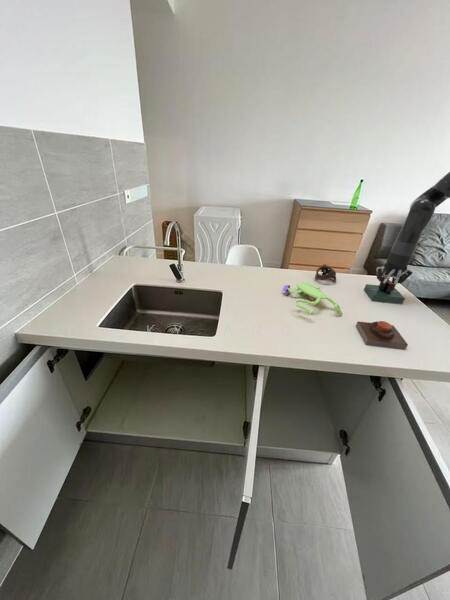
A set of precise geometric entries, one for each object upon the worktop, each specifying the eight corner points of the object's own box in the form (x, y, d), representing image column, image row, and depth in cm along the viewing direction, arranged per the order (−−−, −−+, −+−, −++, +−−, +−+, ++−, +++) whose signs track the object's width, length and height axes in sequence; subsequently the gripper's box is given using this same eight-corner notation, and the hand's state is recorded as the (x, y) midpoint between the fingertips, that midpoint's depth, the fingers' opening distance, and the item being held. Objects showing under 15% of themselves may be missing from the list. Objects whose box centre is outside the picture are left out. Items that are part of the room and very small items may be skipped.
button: (386, 326, 81) (388, 321, 80) (392, 333, 78) (394, 329, 77) (374, 324, 81) (376, 320, 81) (379, 332, 78) (381, 327, 77)
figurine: (298, 322, 87) (301, 309, 84) (276, 286, 109) (278, 275, 106) (346, 320, 89) (351, 308, 86) (315, 286, 111) (318, 275, 108)
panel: (391, 292, 109) (394, 286, 108) (402, 304, 101) (405, 297, 99) (363, 289, 111) (366, 283, 109) (372, 301, 102) (374, 294, 100)
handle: (379, 287, 107) (384, 277, 104) (384, 287, 106) (388, 278, 104) (385, 293, 102) (389, 283, 99) (389, 294, 102) (394, 284, 99)
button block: (390, 330, 85) (395, 321, 83) (405, 349, 77) (410, 340, 75) (355, 326, 86) (359, 317, 84) (365, 345, 78) (370, 335, 76)
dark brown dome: (339, 286, 114) (337, 273, 108) (318, 291, 117) (315, 279, 112) (332, 269, 122) (330, 257, 117) (313, 275, 125) (310, 263, 120)
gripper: (416, 250, 97) (398, 288, 107) (379, 247, 99) (364, 284, 108) (426, 257, 91) (406, 296, 100) (387, 253, 92) (371, 292, 101)
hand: (384, 290), depth 104 cm, fingers open, 3 cm apart
